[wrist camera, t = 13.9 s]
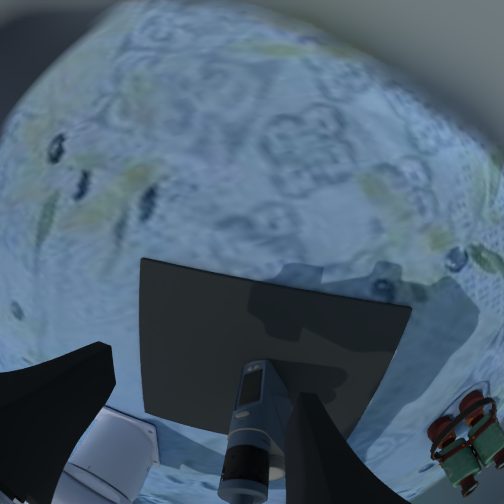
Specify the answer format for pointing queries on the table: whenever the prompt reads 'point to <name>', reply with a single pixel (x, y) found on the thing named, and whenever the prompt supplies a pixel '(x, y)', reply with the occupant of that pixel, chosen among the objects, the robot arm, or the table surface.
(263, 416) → the vaping device
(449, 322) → the table surface
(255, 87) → the table surface
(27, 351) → the table surface
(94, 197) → the table surface
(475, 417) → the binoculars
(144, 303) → the mat
